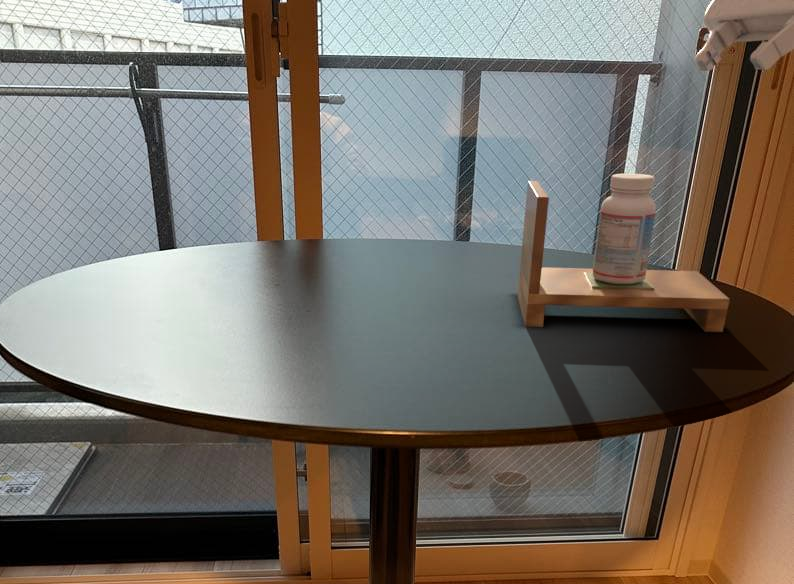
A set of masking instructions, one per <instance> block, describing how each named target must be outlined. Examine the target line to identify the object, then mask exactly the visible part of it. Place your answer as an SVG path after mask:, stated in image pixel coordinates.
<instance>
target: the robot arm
mask: <svg viewBox="0 0 794 584" xmlns="http://www.w3.org/2000/svg"><path fill="white" fill-rule="evenodd" d="M702 19H703V23H704V25H705V27H706V28H707V31H708V32H709V35H708V38H707V39H706V42H705V45H704V46H703V47H702V49H700V50H699V52H697V54H696V55H695V57H694V64H695V66H696V67H697V68H698V70H699V71H701V72H706V71H707V72H708V71H712V70H713V69H714V68H715V66H716V65H717V64H719V62H721V60H722V57H721V54H722V53H723V51H724V50H725V48H729V47H730V46H731V45H732V44H733V43H743V42H746V43H747V42H759V41H761V43H760V44H759V45H757V48H756V49H755V50H754V51H752V53H751V54H750V57H749V61H750V63H752V64H753V67H754V69H755V70H757V71H762V70H764V71H767V70H770V69H771V68H772V67H773V66H774V65H775V64H776V63H777V62H778V61H779V60H780V59H781V57H784V56H785V55H787V54H789V53H790V52H792V51H793V50H794V0H712V1H711V2H710V4H709V5H708V7H707V8H706V10H705V12H704V15H703V18H702Z"/></svg>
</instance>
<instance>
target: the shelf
mask: <svg viewBox="0 0 794 584" xmlns="http://www.w3.org/2000/svg"><path fill="white" fill-rule="evenodd" d="M549 200H550V197H549V196H548V194H547V192H546V191H545V189H544V188H543V187H542V185H541V184H540V182H539V181H538V180H527V185H526V197H525V207H524V208H525V209H524V219H523V220H524V221H523V229H522V230H523V231H522V242H521V255H520V264H519V265H520V266H519V267H520V268H519V277H518V288H517V299H518V303H519V308H520V311H521V315H522V319H523V322H524V323H523V324H524V326H525V327H531V328H532V327H536V328H543V327H544V320H545V310H546V306H569V307H570V306H575V307H609V308H610V307H611V308H645V309H646V308H647V309H648V308H649V309H679V310H680V309H682V310H684V311H685V312H686V313H687V314H688V315H689V317H691V319H692V320H693V321H694V322H695V323H696V324H697V325H698V326H699V327H700V329H702V330H703V332H705V333H708V332H709V333H723V332H724V328H725V324H726V319H727V316H728V309H729V305H730V300H731V299H730V298H729V296H727V295H726V294H725V293H723V292H722V291H721V290H720V289H719V288H718V287H716V286H715V285H714V284H713V283H712V282H711V281H710V280H708V279H707V278H706V277H705V276H704V275H703V274H702V273H700V272H699V271H698V270H668V269H667V270H664V269H647V271H646V276H645V279H644V280H643V281H642V282H639V283H635V284H610V283H606V282H602V281H599V280H596V279H595V278H594V277H593V268H588V267H587V268H583V267H582V268H581V267H577V268H576V267H546V266H545V267H543V261H544V249H545V240H546V231H547V230H546V229H547V223H548V222H547V220H548V213H549V212H548V211H549Z"/></svg>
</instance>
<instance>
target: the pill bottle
mask: <svg viewBox="0 0 794 584" xmlns="http://www.w3.org/2000/svg"><path fill="white" fill-rule="evenodd" d="M654 182H655V176H654V175H651V174H643V173H615V174H612V175H611V179H610V185H609V187H610V191H611V195H609V196H608V197H606V198H605V199H604V200H603V201H602V204H601V207H600V213H599V220H598V228H597V236H596V244H595V251H594V257H593V258H594V259H593V264H592V265H593V267H592V269H593V277H594V278H595V279H596V280H599V281H602V282H606V283H610V284H635V283H639V282H642V281H643V280H644V279H645V276H646V271H647V270H648V264H649V257H650V251H651V244H652V237H653V233H654V232H653V231H654V226H655V225H654V224H655V220H656V219H655V218H656V211H657V205H656V202H655V201H654V200H653V198H652V197H650V193H651V192H653V189H654Z"/></svg>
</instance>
